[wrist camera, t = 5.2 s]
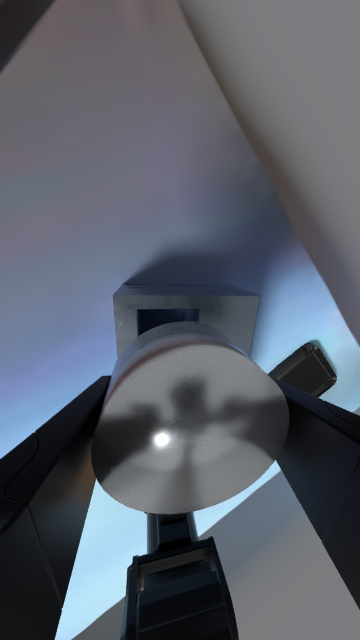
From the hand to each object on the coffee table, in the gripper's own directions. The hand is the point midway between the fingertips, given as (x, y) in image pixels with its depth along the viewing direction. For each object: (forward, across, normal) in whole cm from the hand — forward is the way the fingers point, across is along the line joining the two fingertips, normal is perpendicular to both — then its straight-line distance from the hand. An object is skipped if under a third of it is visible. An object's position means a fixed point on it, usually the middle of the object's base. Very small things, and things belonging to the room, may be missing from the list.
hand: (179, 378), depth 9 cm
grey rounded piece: (+4, 0, 0) cm, 4 cm away
